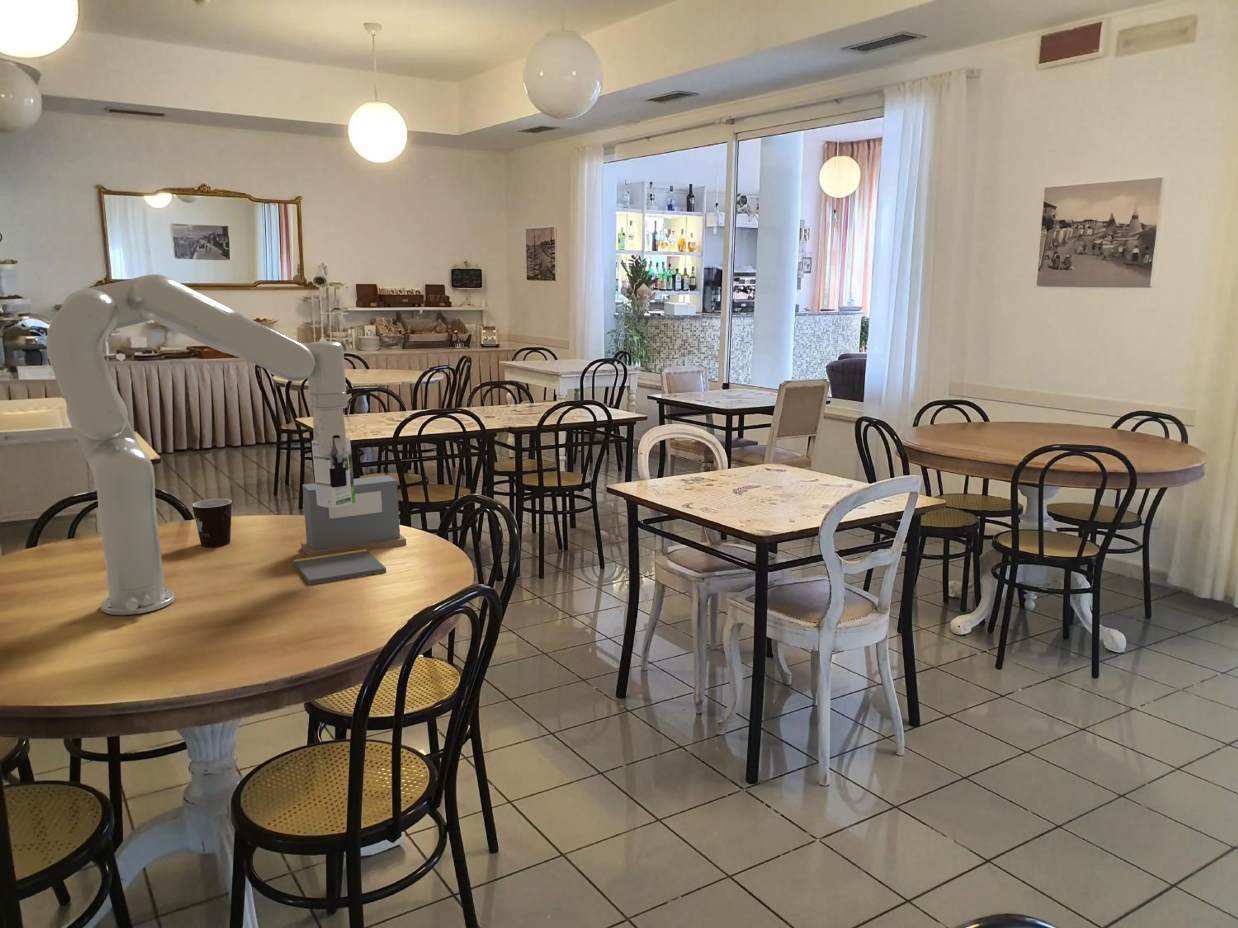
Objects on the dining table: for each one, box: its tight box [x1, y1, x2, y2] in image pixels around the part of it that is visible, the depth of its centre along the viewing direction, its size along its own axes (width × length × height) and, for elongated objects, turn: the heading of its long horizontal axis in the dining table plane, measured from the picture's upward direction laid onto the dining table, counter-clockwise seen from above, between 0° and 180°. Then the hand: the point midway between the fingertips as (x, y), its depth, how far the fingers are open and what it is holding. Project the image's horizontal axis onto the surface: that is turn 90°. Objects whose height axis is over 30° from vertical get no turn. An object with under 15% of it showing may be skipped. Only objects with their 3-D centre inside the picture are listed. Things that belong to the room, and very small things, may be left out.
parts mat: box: [293, 549, 387, 586], centre depth 196 cm, size 16×16×1 cm
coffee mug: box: [192, 498, 233, 549], centre depth 213 cm, size 12×9×10 cm
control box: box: [300, 474, 407, 558], centre depth 211 cm, size 10×22×16 cm, turn 120°
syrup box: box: [311, 436, 355, 509], centre depth 192 cm, size 6×6×14 cm
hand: (334, 482), depth 193 cm, fingers closed on syrup box, 7 cm apart
